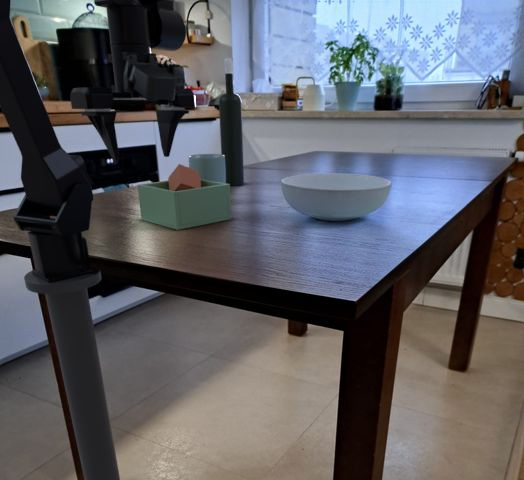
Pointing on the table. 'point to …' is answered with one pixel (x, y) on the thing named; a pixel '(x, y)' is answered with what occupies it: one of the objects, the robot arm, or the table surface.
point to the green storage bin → (185, 204)
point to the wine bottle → (231, 129)
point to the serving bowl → (335, 195)
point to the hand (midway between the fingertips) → (142, 158)
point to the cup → (209, 166)
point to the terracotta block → (184, 179)
